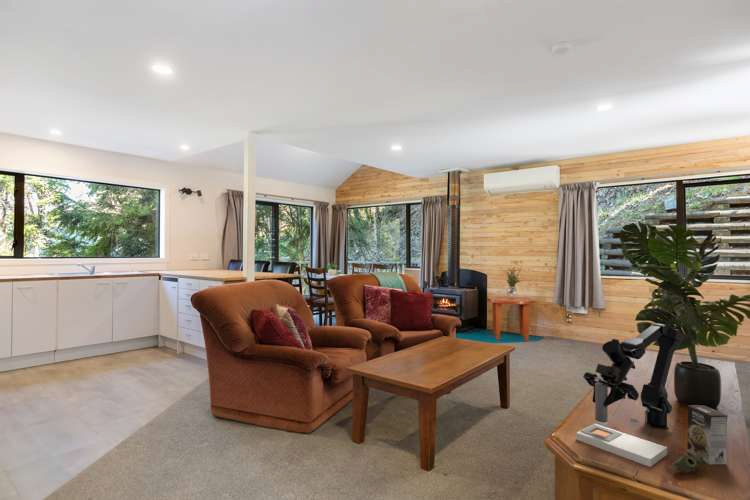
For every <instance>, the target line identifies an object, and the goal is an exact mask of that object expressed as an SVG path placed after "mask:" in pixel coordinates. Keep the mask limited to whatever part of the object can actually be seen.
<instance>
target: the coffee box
mask: <svg viewBox="0 0 750 500" xmlns="http://www.w3.org/2000/svg"><path fill="white" fill-rule="evenodd" d="M686 439H687V444H686V445H687V446H686V450H687V451H686V452H687V453H689V454H690V455H691V456H699V457H702V458H703V461H702V462H705V463H706V464H707V465H711V466H713V465H727V449H728V448H727V445H728V444H727V443H728V442H727V441H728V414H725V413H722V412H720V411H718V410H716V409H713V408H712V407H709V406H707V405H703V404H702V405H700V404H691V405H687V437H686Z"/></svg>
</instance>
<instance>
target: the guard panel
mask: <svg viewBox="0 0 750 500" xmlns="http://www.w3.org/2000/svg"><path fill="white" fill-rule="evenodd" d="M597 429H598V430H600V431H603V432H606V433H609V434H611V435H609V436H607V437H603V436H600V435H597V434H594V433H592V432H593V431H595V430H597ZM575 440H576V441H580V442H582V443H584V444H588V445H590V446H593V447H596V448H598V449H601V450H604V451H606V452H609V453H612V454H614V455H617V456H619V457H622V458H625V459H627V460H631V461H633V462H635V463H638V464H641V465H644V466H646V467H649V468H651V467H652V466H653V465H655V464H656V463H658V462H660V461H661V460H662V459H663V458H664V457H666V456H668V447H667V446H665V445H661V444H658V443H655V442H652V441H649V440H647V439H643V438H639V437H637V436H634V435H630V434H629V433H628V434H627V433H624V432H621V431H618V430H616V429H613V428H609V427H606V426H605V425H600V424H597V423H593V424H591V425H589V426H588V427H585V428H583V429H581V430H579V431H577V432H576V435H575Z"/></svg>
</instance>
